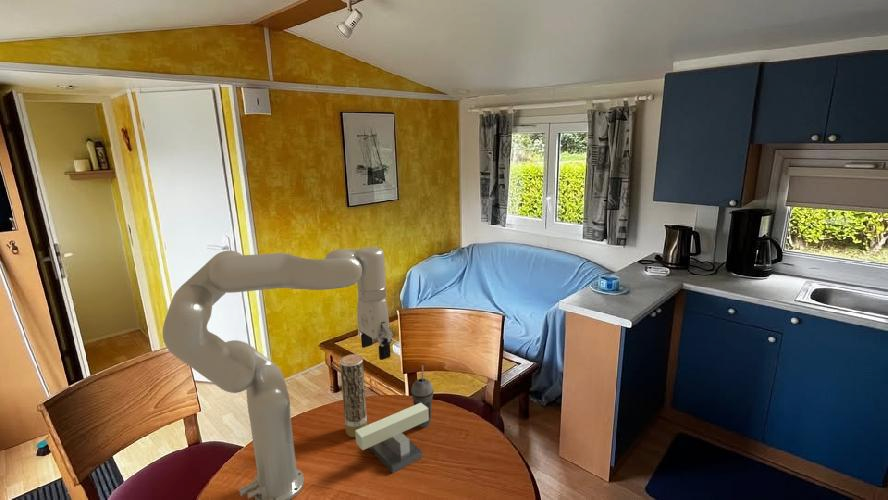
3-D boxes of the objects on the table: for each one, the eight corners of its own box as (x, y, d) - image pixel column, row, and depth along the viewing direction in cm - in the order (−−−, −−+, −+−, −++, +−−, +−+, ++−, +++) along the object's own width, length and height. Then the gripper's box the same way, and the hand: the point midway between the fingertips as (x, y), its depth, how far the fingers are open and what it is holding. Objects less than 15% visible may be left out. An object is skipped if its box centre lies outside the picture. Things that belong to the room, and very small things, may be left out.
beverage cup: (408, 428, 141) (406, 371, 136) (416, 415, 147) (414, 360, 143) (430, 431, 138) (428, 374, 134) (437, 418, 145) (435, 363, 141)
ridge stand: (392, 473, 121) (391, 451, 120) (367, 447, 132) (366, 426, 130) (422, 457, 127) (421, 436, 126) (396, 433, 138) (395, 413, 136)
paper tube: (370, 425, 142) (365, 354, 137) (364, 439, 136) (358, 365, 130) (349, 424, 143) (343, 354, 137) (342, 438, 136) (336, 364, 131)
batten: (362, 450, 120) (361, 437, 119) (356, 442, 123) (355, 430, 122) (428, 420, 133) (428, 408, 132) (421, 414, 136) (420, 402, 135)
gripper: (344, 289, 122) (349, 345, 126) (376, 305, 109) (380, 368, 113) (368, 283, 127) (372, 338, 131) (401, 298, 114) (404, 359, 118)
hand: (375, 352), depth 122 cm, fingers open, 9 cm apart
